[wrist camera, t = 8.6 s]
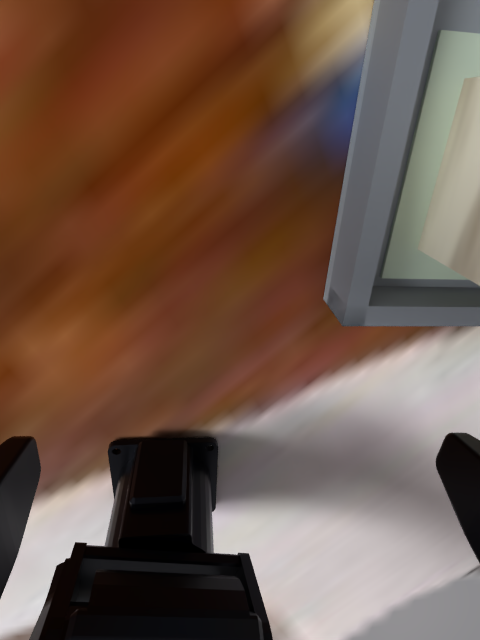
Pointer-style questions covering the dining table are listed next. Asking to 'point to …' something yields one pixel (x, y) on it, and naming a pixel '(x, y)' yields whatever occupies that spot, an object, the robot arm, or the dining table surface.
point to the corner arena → (402, 168)
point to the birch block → (458, 192)
